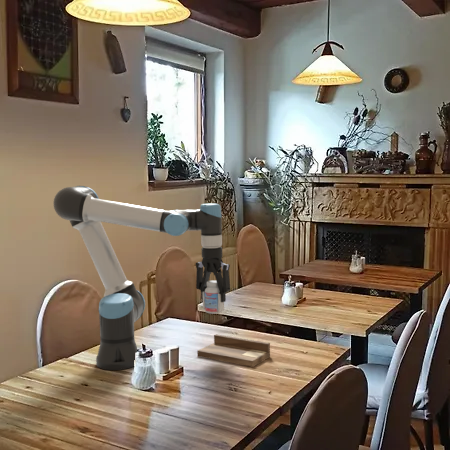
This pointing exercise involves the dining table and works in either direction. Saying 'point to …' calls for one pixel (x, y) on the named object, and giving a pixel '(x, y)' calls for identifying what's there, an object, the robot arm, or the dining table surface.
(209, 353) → the wooden stand
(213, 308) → the pill bottle
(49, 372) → the dining table surface
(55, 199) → the robot arm
